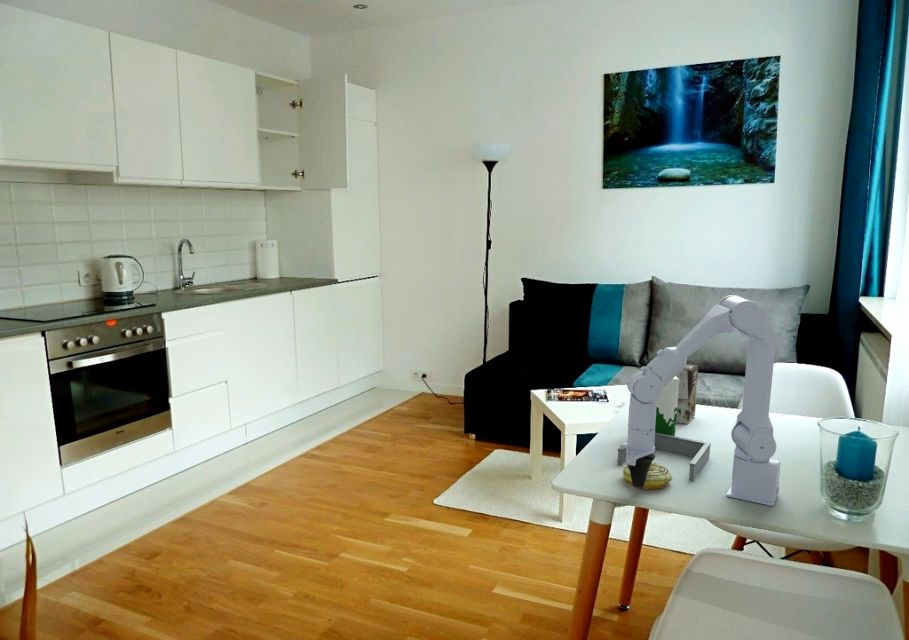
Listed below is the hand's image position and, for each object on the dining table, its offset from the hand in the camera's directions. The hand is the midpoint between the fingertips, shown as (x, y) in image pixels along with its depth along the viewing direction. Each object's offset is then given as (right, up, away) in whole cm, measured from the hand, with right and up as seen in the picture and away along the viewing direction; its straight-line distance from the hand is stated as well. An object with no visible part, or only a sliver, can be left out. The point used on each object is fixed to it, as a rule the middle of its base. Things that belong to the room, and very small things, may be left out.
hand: (638, 486), depth 151 cm
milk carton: (+14, +4, +34) cm, 38 cm away
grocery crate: (+11, +2, +18) cm, 21 cm away
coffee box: (+27, +7, +52) cm, 59 cm away
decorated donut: (+4, -1, +6) cm, 7 cm away
